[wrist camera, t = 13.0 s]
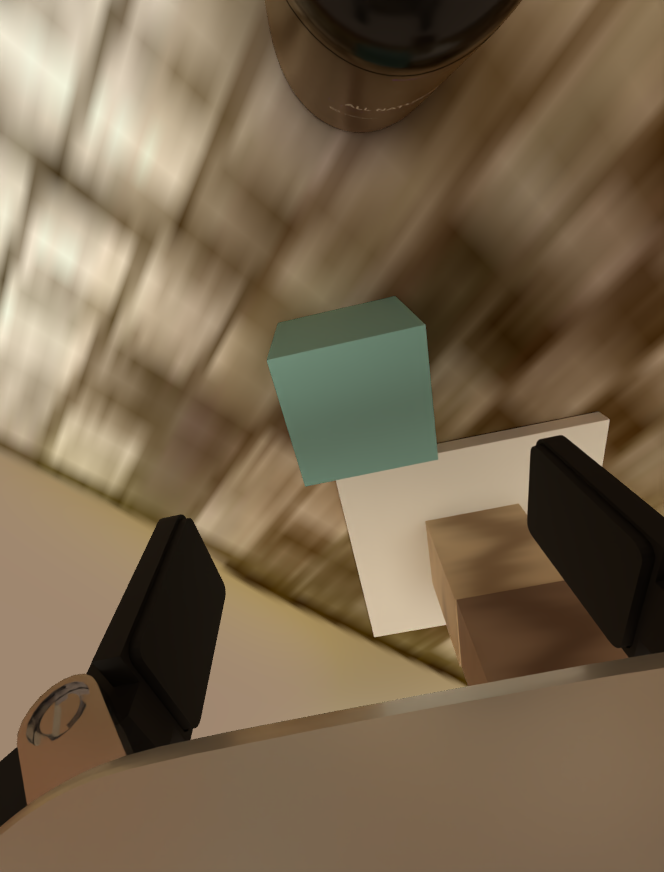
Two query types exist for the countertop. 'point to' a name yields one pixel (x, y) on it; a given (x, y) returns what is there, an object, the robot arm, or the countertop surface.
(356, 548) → the plate
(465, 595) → the oak cube
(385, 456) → the teal cube
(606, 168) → the countertop surface
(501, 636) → the walnut cube
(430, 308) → the countertop surface
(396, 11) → the supplement bottle
